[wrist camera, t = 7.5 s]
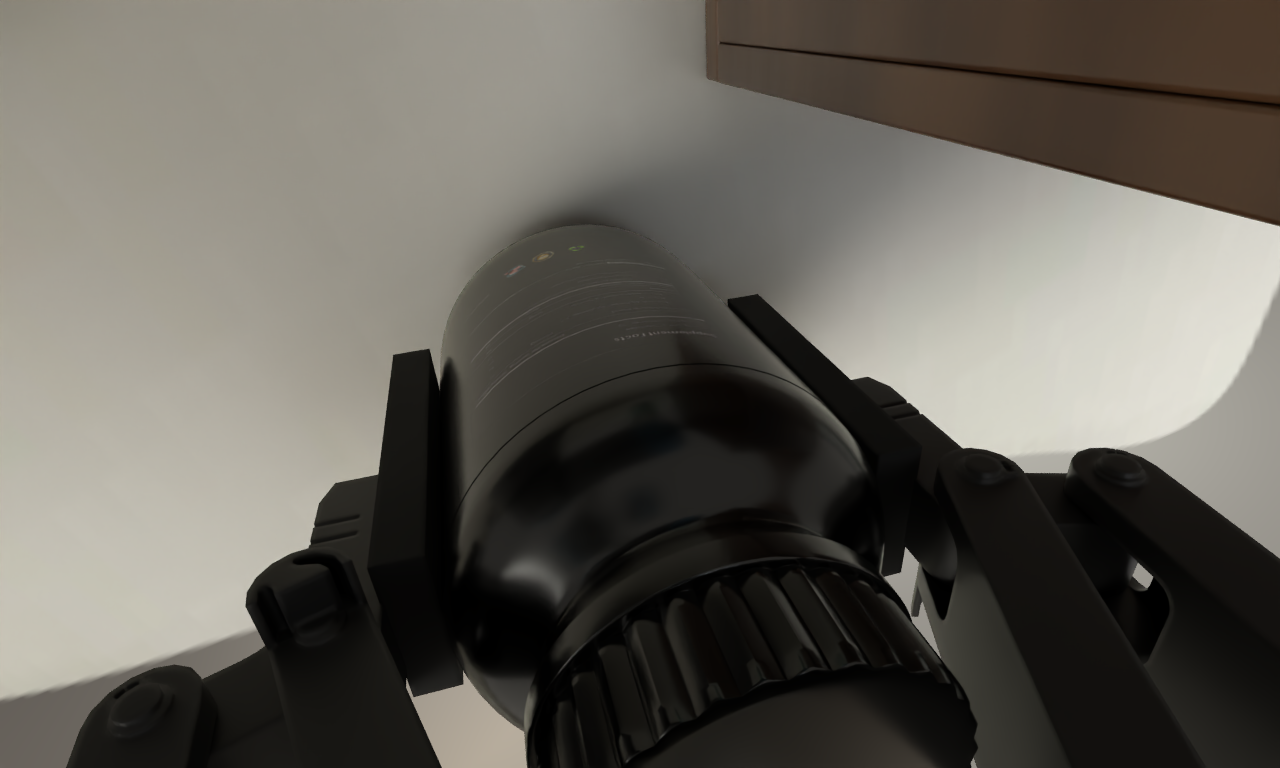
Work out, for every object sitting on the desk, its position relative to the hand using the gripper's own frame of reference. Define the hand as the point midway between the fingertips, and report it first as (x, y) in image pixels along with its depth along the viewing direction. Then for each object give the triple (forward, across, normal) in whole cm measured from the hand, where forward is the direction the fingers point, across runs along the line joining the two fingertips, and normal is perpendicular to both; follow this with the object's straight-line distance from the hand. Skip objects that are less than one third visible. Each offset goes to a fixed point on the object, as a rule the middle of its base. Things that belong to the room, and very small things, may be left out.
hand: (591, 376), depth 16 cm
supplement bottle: (+2, 0, 0) cm, 2 cm away
